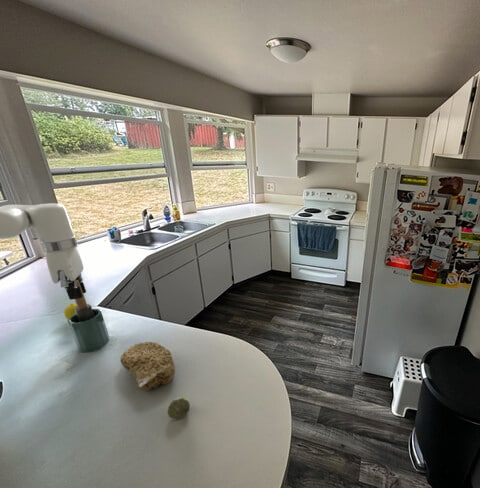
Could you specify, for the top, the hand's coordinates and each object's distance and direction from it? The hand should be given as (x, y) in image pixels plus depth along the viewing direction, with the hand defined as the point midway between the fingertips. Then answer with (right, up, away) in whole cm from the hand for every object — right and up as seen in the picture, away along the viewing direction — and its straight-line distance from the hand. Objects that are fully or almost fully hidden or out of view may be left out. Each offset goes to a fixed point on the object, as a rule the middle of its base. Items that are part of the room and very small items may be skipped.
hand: (78, 295), depth 83 cm
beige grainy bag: (+26, -24, -3) cm, 35 cm away
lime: (+43, -29, -16) cm, 54 cm away
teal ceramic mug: (-1, -19, +7) cm, 20 cm away
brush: (0, -10, +4) cm, 11 cm away
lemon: (-18, -14, +18) cm, 30 cm away
